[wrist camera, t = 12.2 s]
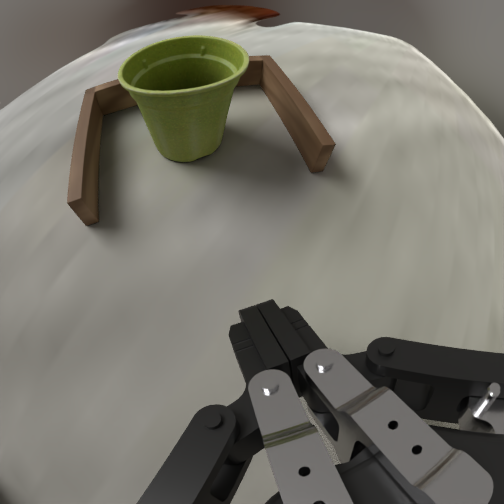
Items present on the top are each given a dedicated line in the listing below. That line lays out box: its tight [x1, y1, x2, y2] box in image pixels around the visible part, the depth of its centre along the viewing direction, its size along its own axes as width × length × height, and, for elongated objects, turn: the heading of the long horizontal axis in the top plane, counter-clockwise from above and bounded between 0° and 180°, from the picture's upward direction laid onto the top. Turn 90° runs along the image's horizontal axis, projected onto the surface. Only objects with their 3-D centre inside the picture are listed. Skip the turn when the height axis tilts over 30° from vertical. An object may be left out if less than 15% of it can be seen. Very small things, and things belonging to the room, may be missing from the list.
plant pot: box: [118, 35, 249, 162], centre depth 19 cm, size 9×9×9 cm
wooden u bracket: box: [67, 56, 336, 226], centre depth 22 cm, size 20×15×4 cm
